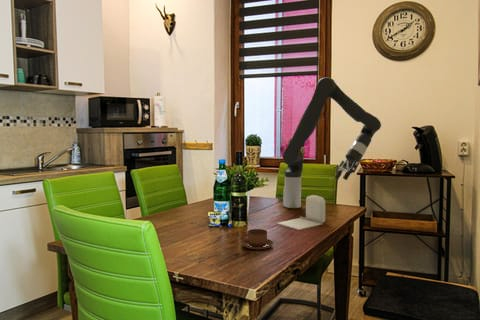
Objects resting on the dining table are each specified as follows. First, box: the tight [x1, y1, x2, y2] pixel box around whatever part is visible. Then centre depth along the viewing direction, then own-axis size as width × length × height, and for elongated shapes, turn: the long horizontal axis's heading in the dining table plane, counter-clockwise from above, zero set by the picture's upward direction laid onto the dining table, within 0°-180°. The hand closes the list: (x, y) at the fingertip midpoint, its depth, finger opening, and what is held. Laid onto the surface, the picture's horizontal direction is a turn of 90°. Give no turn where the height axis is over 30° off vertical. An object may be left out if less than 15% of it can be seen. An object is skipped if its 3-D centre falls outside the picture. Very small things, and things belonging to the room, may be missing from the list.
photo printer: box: [305, 194, 326, 223], centre depth 195 cm, size 10×4×12 cm, turn 39°
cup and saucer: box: [241, 228, 274, 251], centre depth 154 cm, size 12×12×6 cm
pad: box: [276, 216, 324, 231], centre depth 189 cm, size 14×16×1 cm
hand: (340, 178), depth 203 cm, fingers open, 8 cm apart
